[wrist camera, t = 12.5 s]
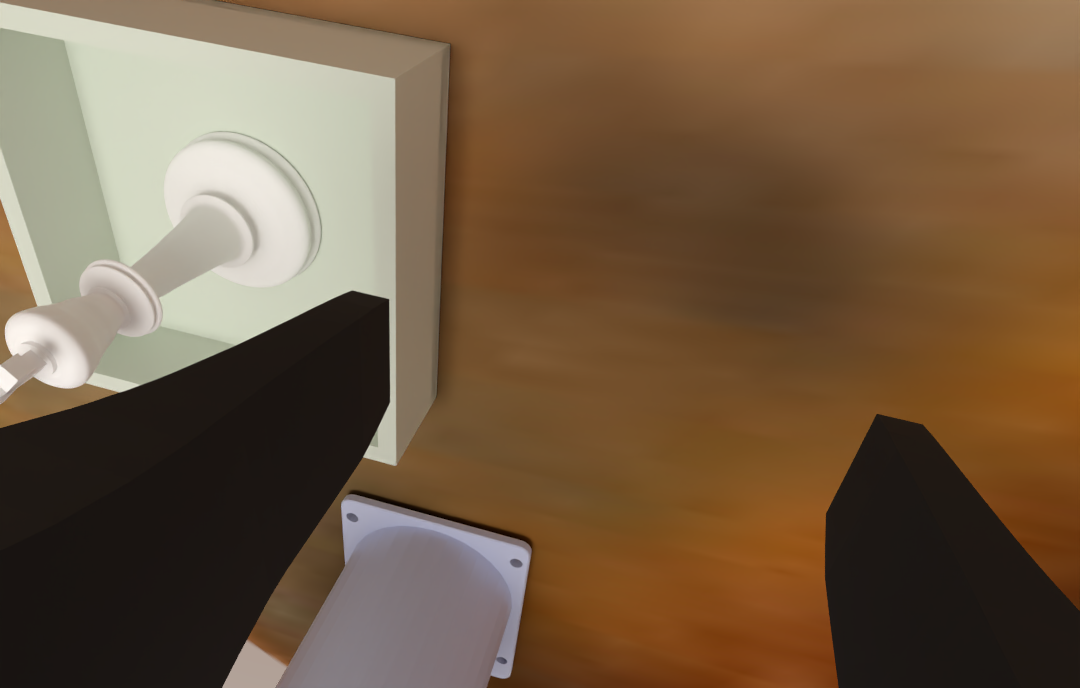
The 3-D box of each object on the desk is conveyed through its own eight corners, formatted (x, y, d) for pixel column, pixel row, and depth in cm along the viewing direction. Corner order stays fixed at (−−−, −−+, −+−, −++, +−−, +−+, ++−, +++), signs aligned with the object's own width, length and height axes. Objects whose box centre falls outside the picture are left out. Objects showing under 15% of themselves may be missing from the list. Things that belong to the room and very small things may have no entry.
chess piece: (148, 191, 23) (-176, 372, 15) (229, 96, 21) (-108, 253, 12) (263, 304, 25) (25, 525, 16) (352, 229, 22) (121, 446, 14)
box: (436, 396, 26) (396, 465, 23) (135, 321, 27) (61, 376, 24) (450, 43, 19) (395, 78, 16) (45, -31, 20) (-73, -12, 18)
